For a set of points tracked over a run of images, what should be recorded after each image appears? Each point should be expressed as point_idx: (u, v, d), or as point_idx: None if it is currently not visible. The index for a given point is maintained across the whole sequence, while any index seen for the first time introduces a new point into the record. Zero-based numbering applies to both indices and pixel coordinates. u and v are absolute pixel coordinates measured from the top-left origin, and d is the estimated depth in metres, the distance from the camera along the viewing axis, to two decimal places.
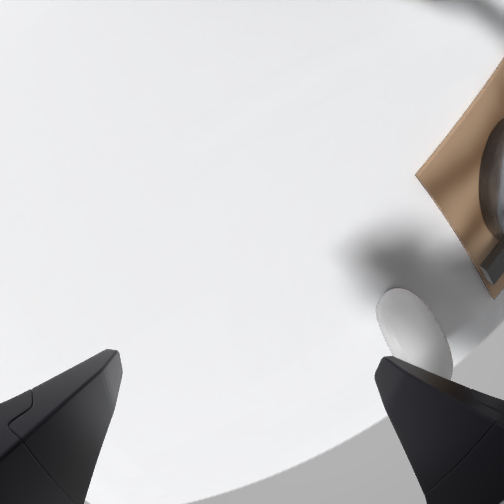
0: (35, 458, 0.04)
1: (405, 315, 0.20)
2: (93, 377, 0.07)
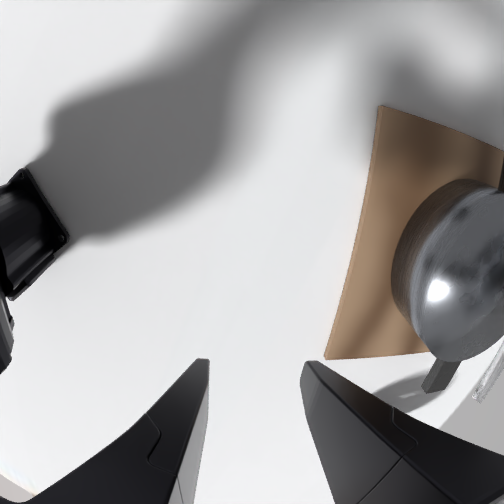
0: (179, 489, 0.04)
1: None
2: (204, 390, 0.07)
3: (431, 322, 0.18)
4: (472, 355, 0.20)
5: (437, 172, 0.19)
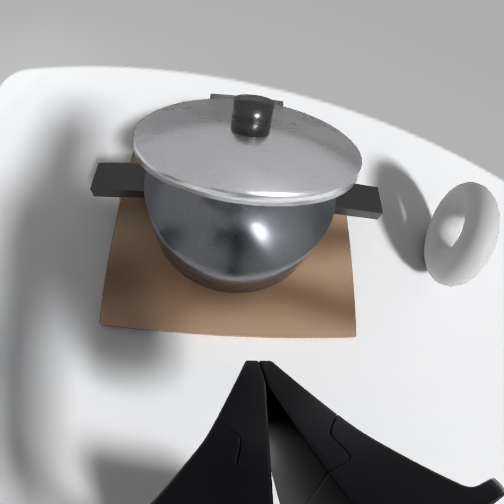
0: None
1: (470, 276, 0.21)
2: (266, 392, 0.07)
3: (281, 256, 0.20)
4: None
5: (150, 259, 0.24)
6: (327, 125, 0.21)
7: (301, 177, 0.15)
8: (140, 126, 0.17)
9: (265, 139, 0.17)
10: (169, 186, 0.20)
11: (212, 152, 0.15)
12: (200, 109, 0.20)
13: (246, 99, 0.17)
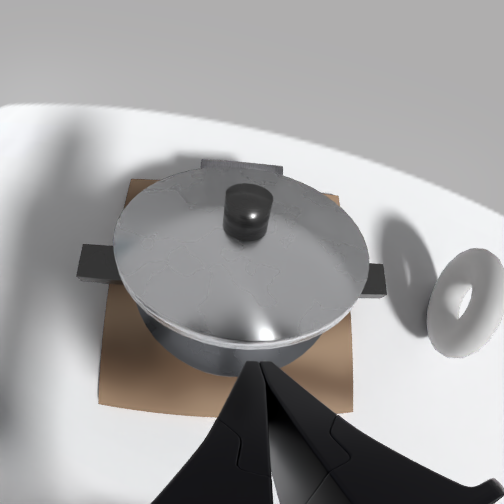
0: None
1: (471, 353, 0.19)
2: (266, 391, 0.07)
3: (278, 357, 0.18)
4: None
5: (145, 341, 0.22)
6: (332, 204, 0.20)
7: (301, 309, 0.13)
8: (121, 224, 0.16)
9: (262, 243, 0.16)
10: None
11: (201, 274, 0.14)
12: (189, 190, 0.19)
13: (239, 195, 0.15)
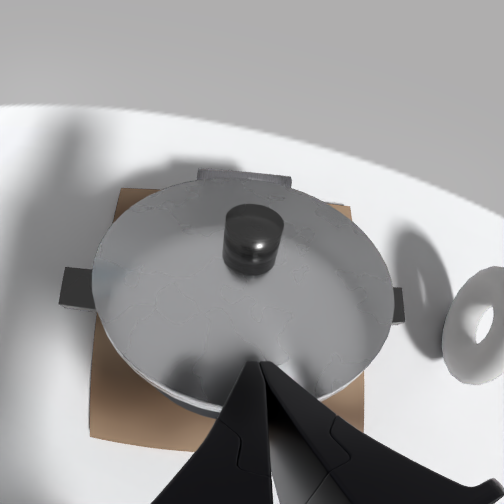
0: None
1: None
2: (266, 391, 0.07)
3: None
4: None
5: None
6: (349, 223, 0.17)
7: (318, 365, 0.10)
8: (101, 253, 0.13)
9: (270, 278, 0.13)
10: None
11: (197, 322, 0.11)
12: (183, 208, 0.16)
13: (243, 221, 0.13)
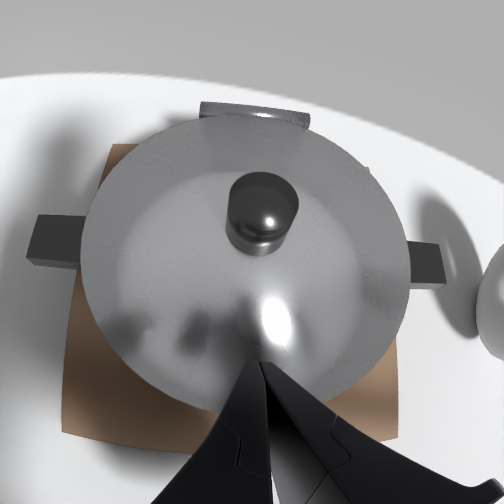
0: None
1: None
2: (266, 392, 0.07)
3: None
4: None
5: None
6: (373, 183, 0.14)
7: (320, 370, 0.10)
8: (89, 228, 0.11)
9: (278, 259, 0.12)
10: None
11: (196, 318, 0.10)
12: (181, 160, 0.13)
13: (249, 199, 0.10)
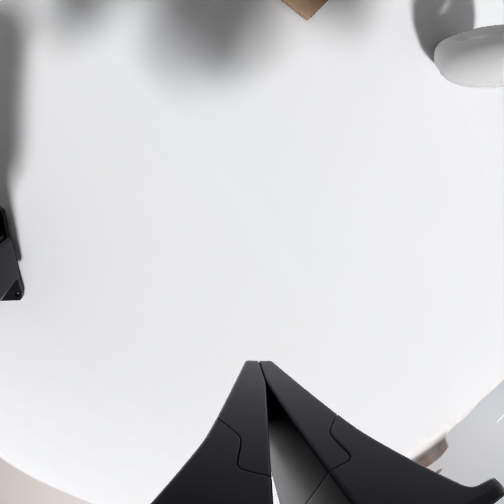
0: None
1: (480, 76, 0.12)
2: (266, 392, 0.07)
3: None
4: None
5: None
6: None
7: None
8: None
9: None
10: None
11: None
12: None
13: None
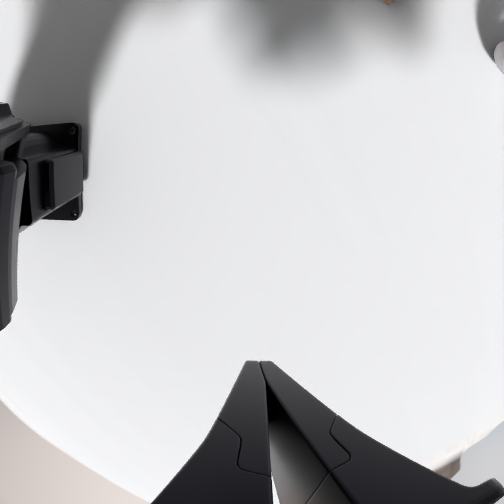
0: None
1: None
2: (266, 391, 0.07)
3: None
4: None
5: None
6: None
7: None
8: None
9: None
10: None
11: None
12: None
13: None
